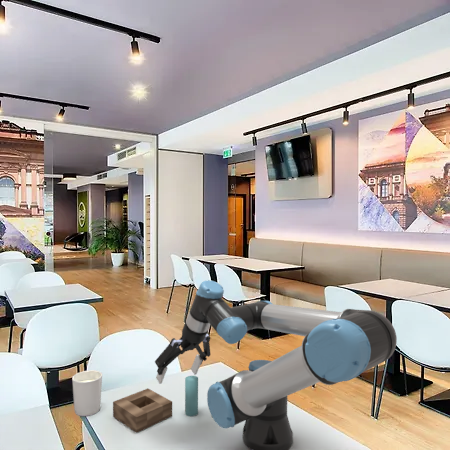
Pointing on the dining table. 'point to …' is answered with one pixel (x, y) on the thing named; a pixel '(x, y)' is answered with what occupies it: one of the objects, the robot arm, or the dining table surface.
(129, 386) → the dining table surface
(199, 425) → the dining table surface
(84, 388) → the candle holder
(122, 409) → the walnut block
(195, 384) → the teal peg
